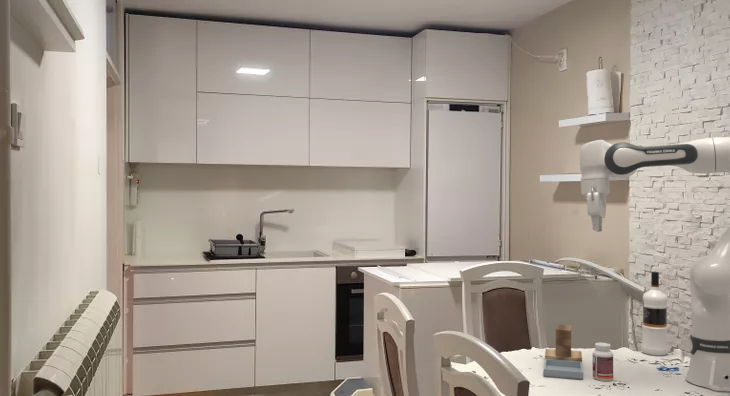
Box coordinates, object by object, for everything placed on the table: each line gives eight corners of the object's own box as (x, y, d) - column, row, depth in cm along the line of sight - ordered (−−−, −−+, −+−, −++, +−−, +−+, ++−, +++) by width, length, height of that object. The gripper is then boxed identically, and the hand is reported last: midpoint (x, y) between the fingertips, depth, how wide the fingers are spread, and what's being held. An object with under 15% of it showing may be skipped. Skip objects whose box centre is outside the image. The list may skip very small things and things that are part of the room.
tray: (582, 369, 211) (582, 361, 211) (583, 380, 198) (583, 372, 198) (544, 366, 214) (544, 358, 214) (543, 376, 202) (543, 369, 202)
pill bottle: (617, 379, 199) (617, 344, 199) (605, 383, 196) (605, 347, 196) (600, 374, 204) (600, 341, 204) (588, 378, 201) (588, 343, 201)
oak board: (581, 361, 221) (581, 351, 221) (582, 368, 211) (582, 358, 211) (545, 358, 225) (545, 348, 225) (544, 365, 215) (544, 355, 215)
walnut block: (570, 350, 221) (570, 325, 221) (571, 357, 213) (571, 330, 213) (556, 349, 223) (556, 324, 223) (555, 356, 214) (555, 329, 214)
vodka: (666, 357, 226) (666, 274, 225) (638, 354, 231) (638, 272, 231) (670, 352, 233) (670, 271, 233) (643, 348, 239) (644, 269, 238)
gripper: (602, 185, 197) (604, 229, 196) (608, 191, 216) (610, 231, 214) (581, 186, 200) (583, 230, 199) (588, 192, 218) (590, 232, 217)
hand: (597, 231), depth 207 cm, fingers open, 8 cm apart
